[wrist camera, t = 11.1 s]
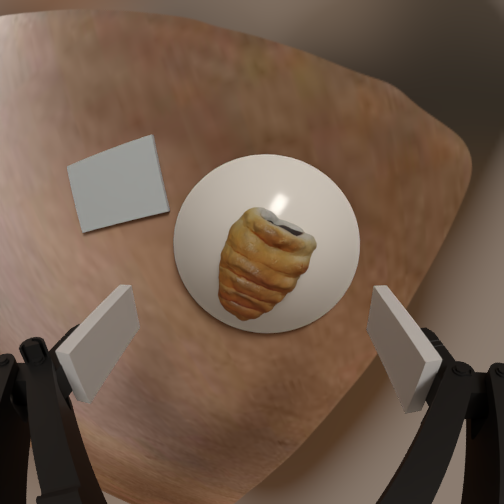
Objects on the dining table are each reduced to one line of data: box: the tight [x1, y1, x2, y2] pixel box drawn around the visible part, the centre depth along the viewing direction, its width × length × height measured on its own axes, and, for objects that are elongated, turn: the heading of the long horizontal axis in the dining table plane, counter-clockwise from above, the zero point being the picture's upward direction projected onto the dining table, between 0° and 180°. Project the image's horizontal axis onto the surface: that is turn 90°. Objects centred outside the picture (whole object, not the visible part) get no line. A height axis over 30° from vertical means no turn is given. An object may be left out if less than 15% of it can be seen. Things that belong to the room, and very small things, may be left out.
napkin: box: [67, 135, 170, 233], centre depth 25 cm, size 10×7×1 cm
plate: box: [174, 154, 360, 333], centre depth 26 cm, size 16×16×1 cm
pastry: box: [218, 207, 317, 321], centre depth 24 cm, size 9×7×4 cm
